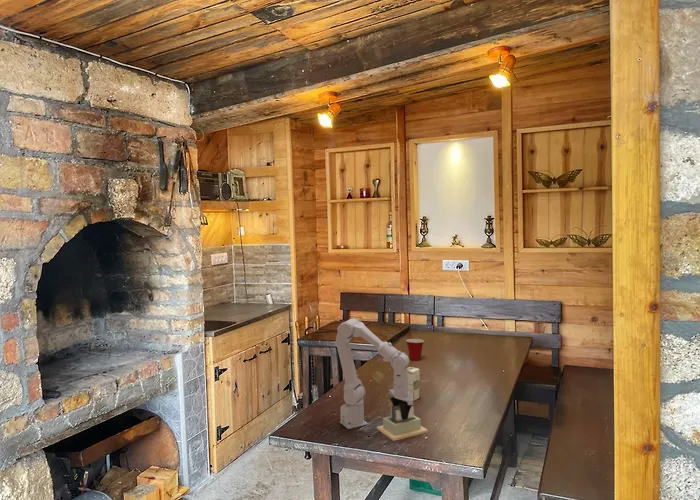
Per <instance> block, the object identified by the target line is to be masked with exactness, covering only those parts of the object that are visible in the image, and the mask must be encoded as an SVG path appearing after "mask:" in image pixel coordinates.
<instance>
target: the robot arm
mask: <svg viewBox="0 0 700 500" xmlns="http://www.w3.org/2000/svg"><path fill="white" fill-rule="evenodd" d="M336 331H337V332H336V337H335V345H336V348H337V349H336V350H337V352H338V357H339V361H340V365H341V369H342V374H343V377H344V385H343V400H344V402H345V403H344V404H342V405H340V407H339V408H340V410H339V411H340V421H339V423H340V424H341V425H343V426H344V427H345V428H346V429H348V430H349V429H350V430H351V429H354V428H358V427H362V426H368V424H369V423H368V422H367V421H365V413H364V411H365V409H364V405H365V404H364V397H365V396H366V393H367V392H366V388H365V387H364V385H363V384H362V380H361V379H359V377H358V375H357V369H356V366H355V362H354V357H353V353H352V349H351V345H350V341H351V340H352V338H362V339H364V340H365V341H366V342H368V343H369V344H370V345H372V346H374V348H376V349H377V353H378V354H379V355H380V356H381V357H382V358H384V359H385V360H387V361H388V362H389V363H390V366H391V368H392V369H393V388H392V389H389V395H390V396H392V397H389V400H390V402H391V404H392V406H396V405H399V406H400V408H401V414H402V419H403V420H405V419H408V415H409V411H410V408H411V406H413V405H414V402H413V399H411V397H410V395H411V394H410V393H409V392H408V368H409V364H410V356H408V354H407V353H406V352H403V351H401V350H398V349H397V348H396V347H394V346H393V343H391V342H390V341H389V342H388V341H382V340H381V339H380V338H379V337H378V336H377V335H376V334H374V333H373V332H372V331H371V330H370V329H369V328H368V327H367V326H366V325H365V324H364V322H362V321H360V320H359V319H358V318H357V317H351V318H350V319H347V320H346V321H343V322H341V323H340V324H339V325H338V327H337V329H336Z"/></svg>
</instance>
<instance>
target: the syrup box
mask: <svg viewBox="0 0 700 500" xmlns="http://www.w3.org/2000/svg"><path fill="white" fill-rule="evenodd" d="M420 372H421V371H420V369H419V368H418V367H413V366H408V392H409V393H410V394H411V395H410V397H411V399H413V403H414V402H415V401H417V400H419V399H420V396H421V395H420V393H421V392H420V391H421V390H420V388H421V384H420V382H421V381H420V380H421V377H420V375H421V374H420Z"/></svg>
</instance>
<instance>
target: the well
mask: <svg viewBox="0 0 700 500" xmlns="http://www.w3.org/2000/svg"><path fill="white" fill-rule="evenodd" d="M376 430H378V431H379V432H381V433H382V434H383V435H385V436H386V438H388V439H390V440H391V441H393V442H395V441H399V440H402V439H408V438H412V437H415V436H420V435H423V434H426V433H428V432H429V431H428V429H427V428H426V427H424V426H422V419H421V418H420V417H418V416H416V415H415V414H414V420H410V421H406V422H401V423H397V424H395V423H393V422H392V421H391V415H390V416H386V417H383V418H382V425H378V426H376Z"/></svg>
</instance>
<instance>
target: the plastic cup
mask: <svg viewBox="0 0 700 500" xmlns="http://www.w3.org/2000/svg"><path fill="white" fill-rule="evenodd" d="M405 341H406V344H407V349H408V354H409V360H411V361H414V362H419V361H420V360H421V357H422V356H421V355H422V350H423V346H424V342H425V340H424V339H420V338H409V339H406V340H405Z"/></svg>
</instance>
